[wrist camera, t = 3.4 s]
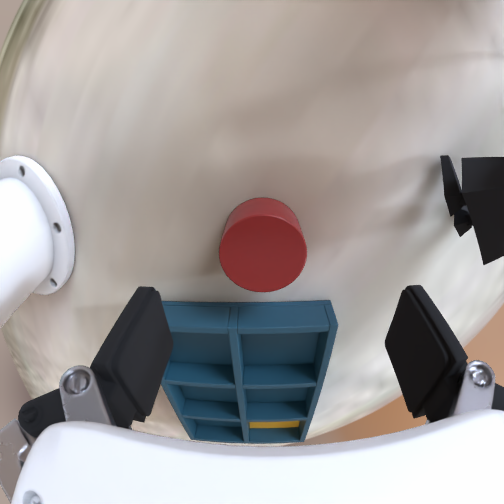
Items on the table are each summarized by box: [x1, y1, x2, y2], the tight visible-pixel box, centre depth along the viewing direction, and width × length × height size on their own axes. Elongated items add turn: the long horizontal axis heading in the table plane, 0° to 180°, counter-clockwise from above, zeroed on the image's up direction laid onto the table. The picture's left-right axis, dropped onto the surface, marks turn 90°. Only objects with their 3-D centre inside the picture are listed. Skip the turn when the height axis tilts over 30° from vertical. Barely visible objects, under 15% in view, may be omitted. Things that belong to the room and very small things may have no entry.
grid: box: [161, 300, 338, 444], centre depth 23 cm, size 14×20×3 cm
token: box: [219, 198, 307, 292], centre depth 15 cm, size 5×5×3 cm
